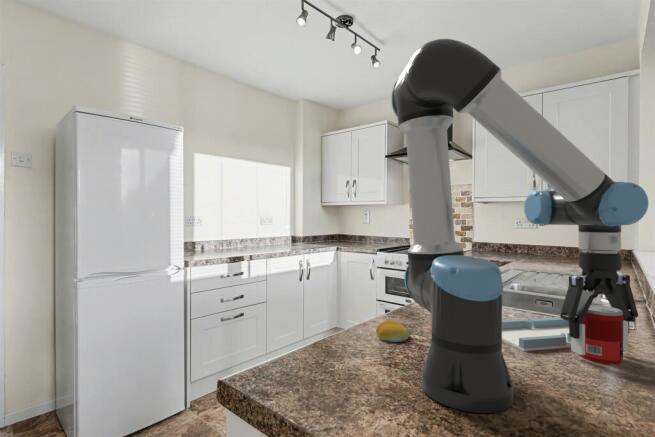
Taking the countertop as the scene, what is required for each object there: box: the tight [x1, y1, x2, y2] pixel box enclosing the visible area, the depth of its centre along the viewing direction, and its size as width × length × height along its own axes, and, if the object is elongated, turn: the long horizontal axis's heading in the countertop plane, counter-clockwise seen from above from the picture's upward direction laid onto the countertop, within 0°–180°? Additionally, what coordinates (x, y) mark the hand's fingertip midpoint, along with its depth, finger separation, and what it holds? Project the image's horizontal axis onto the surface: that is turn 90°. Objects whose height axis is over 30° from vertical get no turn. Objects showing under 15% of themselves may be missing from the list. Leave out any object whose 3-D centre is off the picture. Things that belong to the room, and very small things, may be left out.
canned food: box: [578, 303, 624, 365], centre depth 77 cm, size 8×8×11 cm
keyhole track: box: [502, 316, 571, 352], centre depth 91 cm, size 28×15×3 cm, turn 101°
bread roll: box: [375, 319, 410, 343], centre depth 91 cm, size 8×9×4 cm
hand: (599, 350), depth 77 cm, fingers open, 11 cm apart
